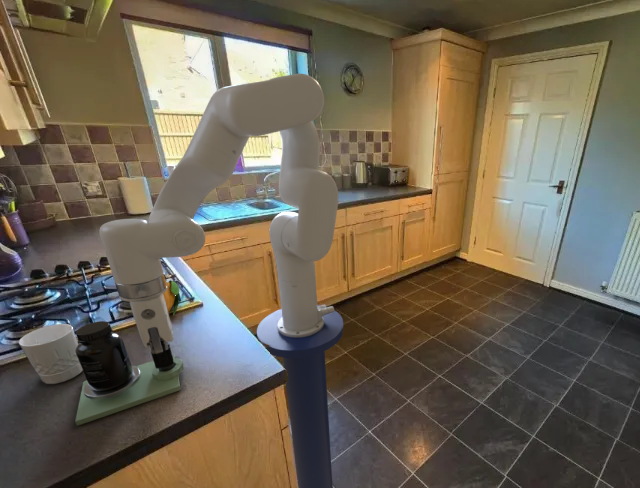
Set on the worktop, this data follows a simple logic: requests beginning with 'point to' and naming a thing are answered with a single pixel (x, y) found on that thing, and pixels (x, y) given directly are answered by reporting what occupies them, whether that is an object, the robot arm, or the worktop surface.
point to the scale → (132, 392)
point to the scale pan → (115, 391)
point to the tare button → (167, 368)
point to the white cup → (52, 352)
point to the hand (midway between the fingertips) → (164, 363)
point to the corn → (171, 296)
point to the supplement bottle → (102, 356)
